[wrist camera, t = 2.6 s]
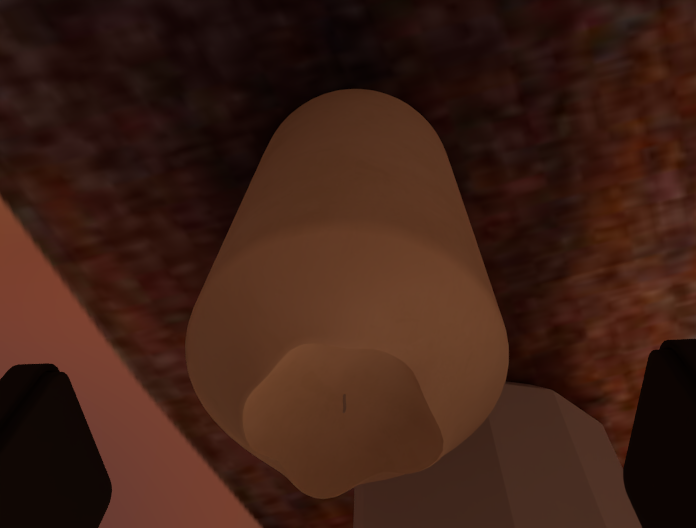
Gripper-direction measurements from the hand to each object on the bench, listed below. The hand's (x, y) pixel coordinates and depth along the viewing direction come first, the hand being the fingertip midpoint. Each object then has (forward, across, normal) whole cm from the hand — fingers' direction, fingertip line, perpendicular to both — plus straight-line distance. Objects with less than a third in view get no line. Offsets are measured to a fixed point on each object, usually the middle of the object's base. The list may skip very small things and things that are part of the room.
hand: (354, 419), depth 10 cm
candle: (+9, 0, -1) cm, 9 cm away
